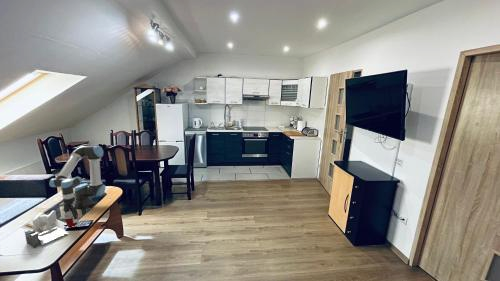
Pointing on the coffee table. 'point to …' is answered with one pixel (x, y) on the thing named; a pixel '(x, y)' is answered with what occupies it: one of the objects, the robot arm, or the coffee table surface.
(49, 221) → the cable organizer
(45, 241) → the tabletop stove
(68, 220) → the plastic cup
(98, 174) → the robot arm
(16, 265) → the coffee table surface
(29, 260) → the coffee table surface
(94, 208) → the coffee table surface
